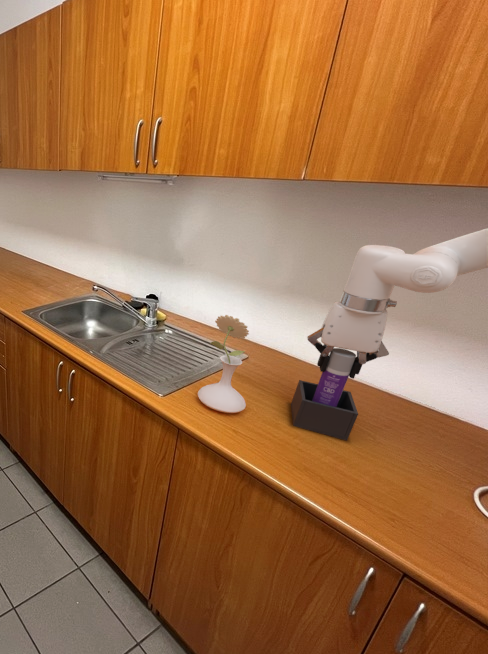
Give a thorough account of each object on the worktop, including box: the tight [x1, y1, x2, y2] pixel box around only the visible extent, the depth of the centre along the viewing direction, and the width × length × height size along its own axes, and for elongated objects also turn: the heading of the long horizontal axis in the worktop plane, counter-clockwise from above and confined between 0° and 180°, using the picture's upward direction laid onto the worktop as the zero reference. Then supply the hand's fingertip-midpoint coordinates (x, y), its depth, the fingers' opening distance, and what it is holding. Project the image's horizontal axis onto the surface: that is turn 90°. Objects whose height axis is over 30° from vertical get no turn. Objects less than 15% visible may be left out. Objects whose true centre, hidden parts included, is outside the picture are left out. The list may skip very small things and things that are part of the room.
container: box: [312, 347, 357, 407], centre depth 95 cm, size 5×5×15 cm
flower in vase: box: [197, 314, 250, 414], centre depth 103 cm, size 13×11×25 cm
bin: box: [290, 379, 359, 441], centre depth 98 cm, size 10×10×8 cm
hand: (336, 371), depth 94 cm, fingers closed on container, 4 cm apart
